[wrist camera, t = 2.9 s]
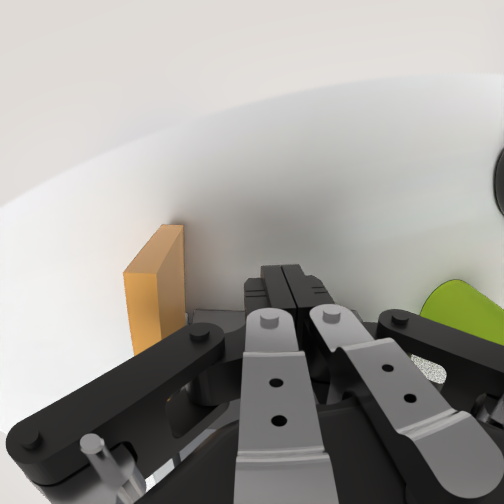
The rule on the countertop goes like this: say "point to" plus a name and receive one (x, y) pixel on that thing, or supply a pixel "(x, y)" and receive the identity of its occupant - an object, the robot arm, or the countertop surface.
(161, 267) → the side door
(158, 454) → the robot arm
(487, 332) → the soap dispenser
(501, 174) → the supplement bottle
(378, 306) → the countertop surface
